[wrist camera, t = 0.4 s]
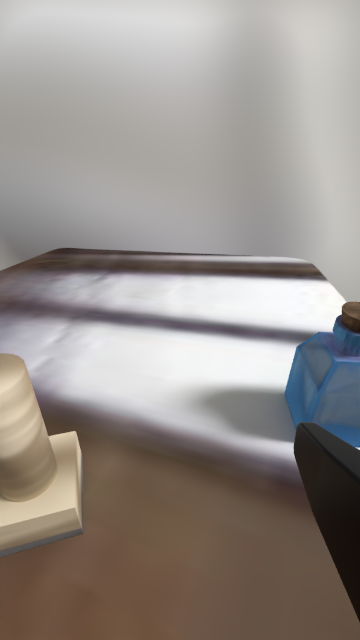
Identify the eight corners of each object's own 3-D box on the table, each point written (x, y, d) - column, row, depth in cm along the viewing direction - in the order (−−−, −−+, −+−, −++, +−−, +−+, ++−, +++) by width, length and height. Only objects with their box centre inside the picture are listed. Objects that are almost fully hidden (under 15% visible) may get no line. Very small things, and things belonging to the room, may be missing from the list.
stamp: (83, 533, 21) (43, 404, 15) (-14, 561, 20) (-107, 432, 13) (82, 457, 26) (52, 335, 20) (4, 475, 25) (-57, 349, 18)
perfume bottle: (343, 396, 33) (385, 294, 26) (372, 448, 27) (431, 336, 21) (284, 393, 33) (311, 292, 26) (300, 444, 28) (339, 332, 21)
